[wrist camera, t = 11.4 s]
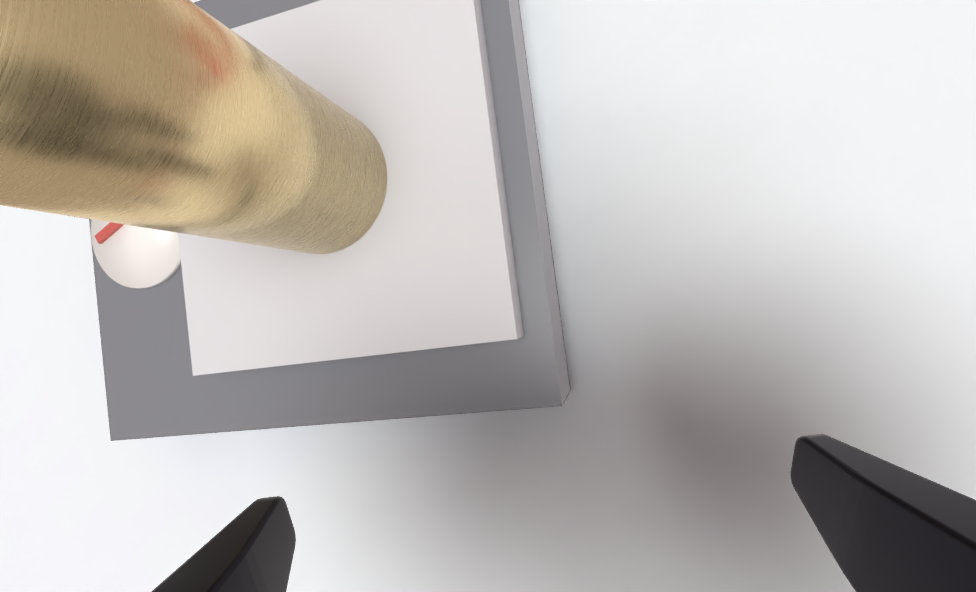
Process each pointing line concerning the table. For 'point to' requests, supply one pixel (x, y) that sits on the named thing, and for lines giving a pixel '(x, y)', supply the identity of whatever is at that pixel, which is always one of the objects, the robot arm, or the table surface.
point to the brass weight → (176, 128)
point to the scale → (357, 247)
